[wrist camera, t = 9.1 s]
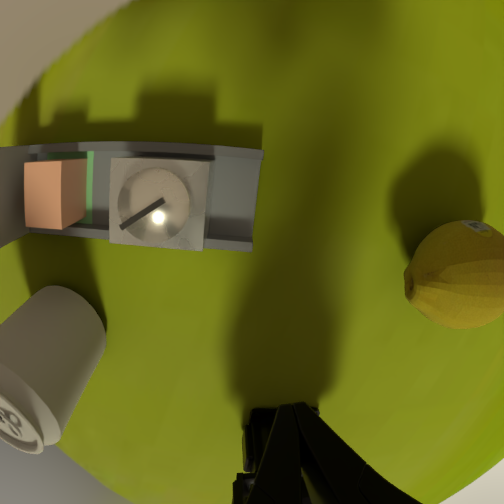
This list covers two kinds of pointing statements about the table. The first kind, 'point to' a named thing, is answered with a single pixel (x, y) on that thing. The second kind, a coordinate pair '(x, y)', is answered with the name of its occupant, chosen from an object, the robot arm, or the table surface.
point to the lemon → (458, 275)
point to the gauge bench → (98, 187)
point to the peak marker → (55, 192)
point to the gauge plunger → (160, 201)
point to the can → (46, 365)
